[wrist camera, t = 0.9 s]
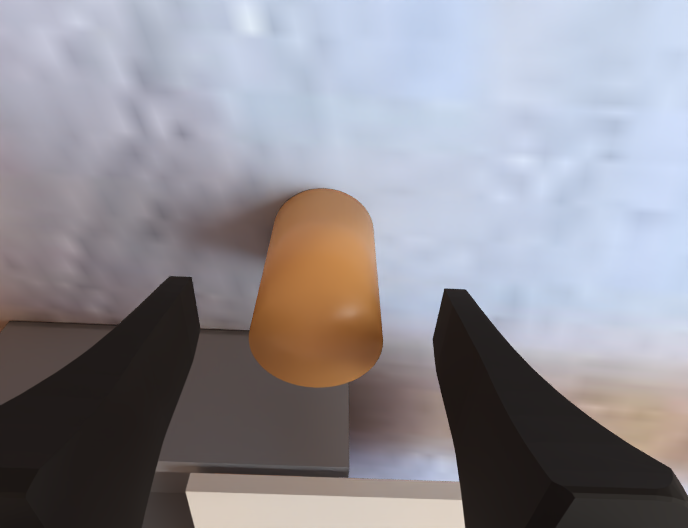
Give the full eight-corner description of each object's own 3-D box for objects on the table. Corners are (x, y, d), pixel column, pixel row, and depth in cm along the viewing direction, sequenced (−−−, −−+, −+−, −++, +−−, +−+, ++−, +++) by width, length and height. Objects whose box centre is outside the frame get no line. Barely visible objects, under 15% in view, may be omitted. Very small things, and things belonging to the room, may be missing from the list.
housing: (337, 467, 26) (335, 593, 21) (75, 458, 26) (13, 585, 21) (348, 335, 20) (349, 467, 16) (9, 321, 20) (-98, 452, 15)
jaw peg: (369, 275, 19) (376, 390, 14) (275, 270, 18) (252, 385, 14) (378, 191, 16) (389, 295, 12) (272, 185, 16) (244, 288, 12)
